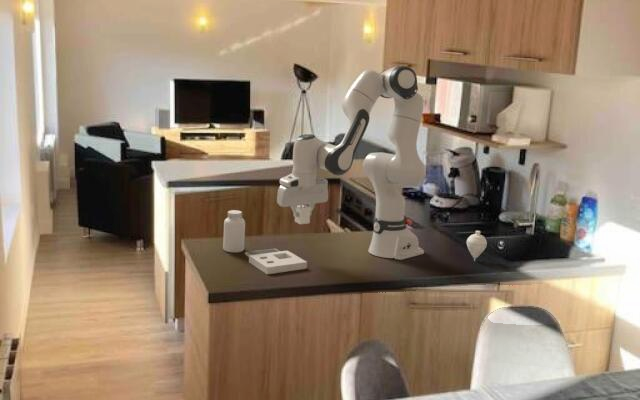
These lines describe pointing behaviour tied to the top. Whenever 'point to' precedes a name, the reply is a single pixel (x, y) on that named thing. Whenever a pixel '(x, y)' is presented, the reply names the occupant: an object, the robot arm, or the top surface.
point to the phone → (261, 252)
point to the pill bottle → (234, 232)
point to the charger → (303, 214)
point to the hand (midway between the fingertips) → (302, 215)
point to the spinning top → (476, 244)
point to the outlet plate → (277, 262)
